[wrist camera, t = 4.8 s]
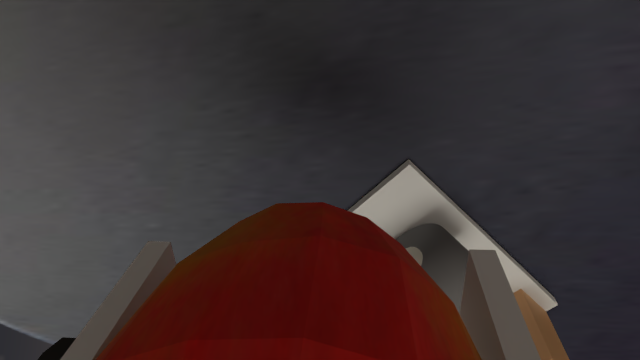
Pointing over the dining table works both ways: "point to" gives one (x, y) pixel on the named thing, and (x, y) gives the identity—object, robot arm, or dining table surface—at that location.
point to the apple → (297, 297)
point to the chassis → (436, 207)
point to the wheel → (438, 257)
